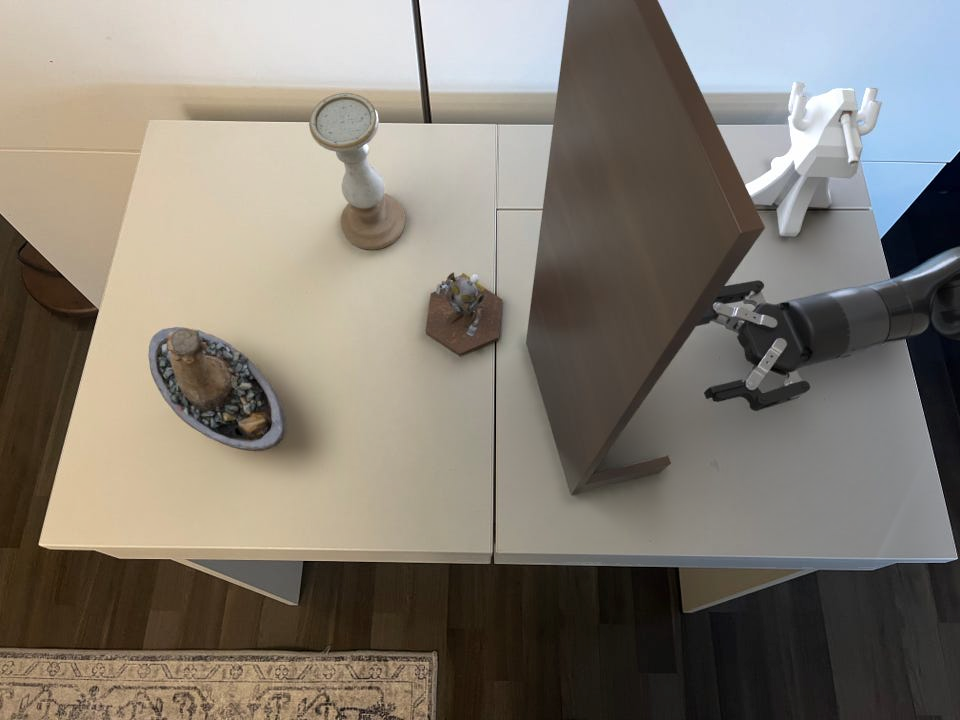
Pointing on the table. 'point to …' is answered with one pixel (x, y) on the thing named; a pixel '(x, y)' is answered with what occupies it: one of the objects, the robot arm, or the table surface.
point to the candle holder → (358, 170)
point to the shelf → (626, 229)
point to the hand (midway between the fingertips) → (693, 358)
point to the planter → (216, 389)
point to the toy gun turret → (815, 153)
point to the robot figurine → (463, 315)
